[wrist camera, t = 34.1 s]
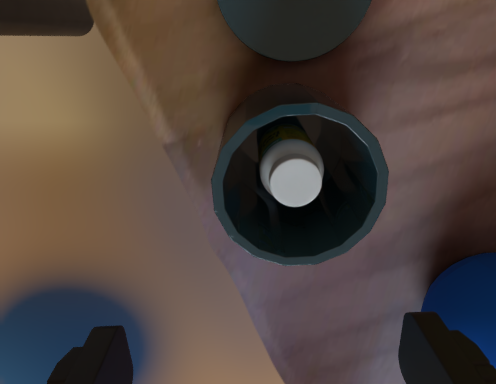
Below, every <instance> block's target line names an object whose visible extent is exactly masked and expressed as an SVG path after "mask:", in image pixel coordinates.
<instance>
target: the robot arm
mask: <svg viewBox="0 0 496 384" xmlns="http://www.w3.org/2000/svg"><path fill="white" fill-rule="evenodd" d="M398 357H399V365H400V369H401V373H402V375H403V378H404V380H405V382H406V384H496V369H495V368H494V366H493V365H491V364H490V361H489V360H488V358H487V357H486V356H485V355H484V353H483V352H482V351H481V349H480V348H479V347H478V345H477V344H476V343H474V342H473V341H472V340H470V339H469V338H468V337H466V336H465V335H464V334H463V333H461V332H460V331H459V330H449V329H448V328H447V326H446V325H445V324H444V322H443V321H442V319H441V318H440V316H439V315H438V314H437V313H436V312H433V311H430V312H409V313H406V314H405V315H404V319H403V325H402V332H401V339H400V346H399V353H398ZM132 380H133V364H132V359H131V355H130V351H129V347H128V342H127V338H126V334H125V330H124V327H123V326H100V327H94V328H93V329H92V330H91V332H90V334H89V336H88V338H87V340H86V342H85V344H84V346H83V347H73V348H72V349H71V350H70V352H68V353H67V354H66V355H65V356H64V357H63V358H62V359H61V360H60V361H59V362H58V363H57V365H56V366H55V368H54V370H53V372H52V373H51V375H50V377H49V379H48V381H47V384H132Z"/></svg>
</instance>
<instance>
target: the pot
mask: <svg viewBox="0 0 496 384" xmlns="http://www.w3.org/2000/svg"><path fill="white" fill-rule="evenodd" d="M280 124H292V125H295V126H298V127H299V128H301V129H302V130H303V131H304V132H305V133H306V134H307V135H308V137H309V138H310V140H311V141H312V143H313V144H314V146H315V147H316V149H317V150H318V152H319V154H320V155H321V158H322V160H323V164H324V174H323V178H322V186H321V190H320V192H319V194H318V195H317V196H316V198H315V199H314V200H312V201H311V202H310V203H308V204H306V205H303V206H299V207H290V206H286V205H284V204H282V203H280V202H279V201H278V200H276V199H275V197H274V196H272V195H271V194H270V193H269V192H268V191H267V190H266V189H265V187H264V186H263V184H262V181H261V178H260V171H259V158H258V146H259V142H260V140H261V138H262V136H263V135H264V133H265V132H266V131H267V130H269V129H270V128H272V127H274V126H276V125H280ZM388 175H389V171H388V167H387V164H386V161H385V158H384V156H383V153H382V150H381V147H380V144H379V141H378V140H377V138H376V137H375V136H374V135H373V134H372V133H371V132H370V131H369V130H368V129H367V128H366V127H365V126H364V125H363V124H362V123H361V122H360V121H359V120H358V119H357V118H356V117H355V116H354V115H352V114H351V113H350V112H348V111H347V110H346V109H344V108H343V107H342V106H340V105H339V104H337V103H336V102H335V101H333V100H332V99H331V98H329V97H328V96H327V95H325V94H324V93H322V92H320V91H317V90H315V89H312V88H310V87H307V86H304V85H301V84H297V83H296V84H277V85H270V86H268V87H265V88H263V89H261V90H258V91H257V92H255V93H253V94H251V95H250V96H248V97H246V98H245V100H244V101H243V102H242V103H241V104H240V105H239V106H238V107H237V108H236V110H235V111H234V112H233V113H232V114H231V116H230V117H229V120H228V123H227V126H226V129H225V132H224V135H223V138H222V141H221V145H220V149H219V153H218V156H217V160H216V164H215V168H214V171H213V175H212V179H211V184H212V193H213V203H214V211H215V213H216V215H217V217H218V219H219V220H220V222H221V224H222V226H223V227H224V229H225V231H226V232H227V234H228V236H229V237H230V239H231V240H232V241H234V242H235V243H236V244H238V245H239V246H240V247H242V248H243V249H244V250H246V251H247V252H248V253H249V254H251V255H252V256H253V257H256V258H259V259H263V260H266V261H270V262H273V263H276V264H280V265H283V266H294V265H315V264H319V263H321V262H324V261H326V260H329V259H331V258H334V257H336V256H339V255H341V254H344V253H346V252H347V251H348V250H350V249H351V248H352V247H353V246H354V245H355V244H357V243H358V242H359V241H360V240H361V239H362V238H364V237H365V236H366V235H367V234H368V233H369V232H370V231H371V229H372V227H373V225H374V224H375V222H376V220H377V218H378V216H379V214H380V213H381V211H382V209H383V207H384V205H385V203H386V196H387V185H388Z"/></svg>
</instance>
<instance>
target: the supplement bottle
mask: <svg viewBox="0 0 496 384" xmlns="http://www.w3.org/2000/svg"><path fill="white" fill-rule="evenodd" d="M258 158H259V171H260V178H261V181H262V184H263V186H264V187H265V189H266V190H267V191H268V192H269V193H270V194H271V195H272V196H274V197H275V199H276V200H278V201H279V202H280V203H282V204H284V205H286V206H290V207H299V206H303V205H306V204H308V203H310V202H311V201H312V200H314V199H315V198H316V196H317V195H318V194H319V192H320V190H321V186H322V178H323V174H324V164H323V160H322V158H321V155H320V154H319V152H318V150H317V149H316V147H315V146H314V144H313V143H312V141H311V140H310V138H309V137H308V135H307V134H306V133H305V132H304V131H303V130H302V129H301V128H299V127H298V126H295V125H292V124H280V125H276V126H274V127H272V128H270V129H269V130H267V131H266V132H265V133H264V135H263V136H262V138H261V140H260V142H259V146H258Z"/></svg>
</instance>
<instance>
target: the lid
mask: <svg viewBox="0 0 496 384" xmlns="http://www.w3.org/2000/svg"><path fill="white" fill-rule="evenodd" d="M217 1H218V4H219V7H220V10H221V12H222V15H223V16H224V18H225V20H226V22H227V24H228V25H229V27H230V28H231V30H232V31H233V32H234V34H235V35H236V36H237V37H238V38H239V39H240V40H241V41H242V42H243V43H244V44H246V45H247V46H248V47H249V48H251V49H252V50H254V51H255V52H257V53H259V54H261V55H263V56H266V57H268V58H272V59H275V60H280V61H304V60H309V59H312V58H316V57H318V56H321V55H323V54H325V53H327V52H329V51H331V50H332V49H334V48H336V47H337V46H338V45H340V44H341V43H342V42H343V41H345V40H346V39H347V38H348V37H349V36H350V35H351V34H352V32H353V31H354V30H355V29H356V28H357V26H358V25H359V24H360V22H361V20H362V19H363V17H364V16H365V14H366V12H367V10H368V8H369V6H370V4H371V1H372V0H217Z"/></svg>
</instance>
